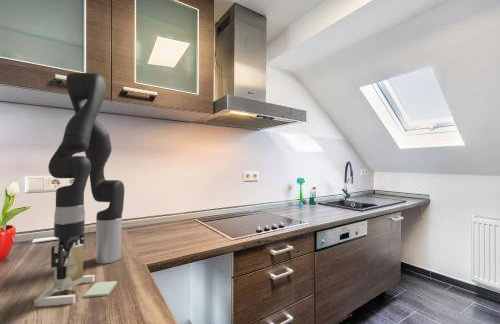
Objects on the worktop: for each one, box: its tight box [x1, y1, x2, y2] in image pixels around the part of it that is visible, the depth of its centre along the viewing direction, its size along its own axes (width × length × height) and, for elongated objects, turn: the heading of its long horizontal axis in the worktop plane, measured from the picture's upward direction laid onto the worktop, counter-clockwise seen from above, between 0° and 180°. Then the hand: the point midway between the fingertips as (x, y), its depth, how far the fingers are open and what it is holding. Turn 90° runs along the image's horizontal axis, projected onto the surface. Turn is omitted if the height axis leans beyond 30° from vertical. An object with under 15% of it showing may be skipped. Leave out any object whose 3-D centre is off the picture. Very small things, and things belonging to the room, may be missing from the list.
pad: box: [83, 280, 118, 298], centre depth 75 cm, size 8×7×1 cm
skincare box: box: [52, 243, 85, 292], centre depth 73 cm, size 6×4×12 cm
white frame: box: [33, 274, 95, 308], centre depth 73 cm, size 14×10×2 cm
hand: (68, 272), depth 73 cm, fingers closed on skincare box, 7 cm apart
